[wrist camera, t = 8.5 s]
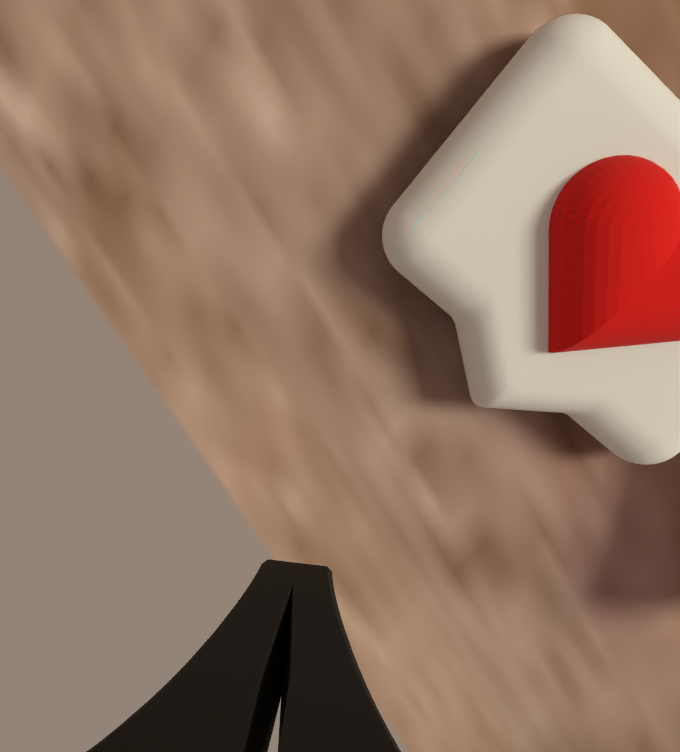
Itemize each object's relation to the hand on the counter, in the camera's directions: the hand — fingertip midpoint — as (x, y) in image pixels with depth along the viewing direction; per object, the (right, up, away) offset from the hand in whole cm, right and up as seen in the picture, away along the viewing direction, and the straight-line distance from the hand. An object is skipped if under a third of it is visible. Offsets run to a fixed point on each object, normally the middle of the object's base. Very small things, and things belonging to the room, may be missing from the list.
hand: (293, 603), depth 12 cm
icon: (+9, +8, +7) cm, 14 cm away
